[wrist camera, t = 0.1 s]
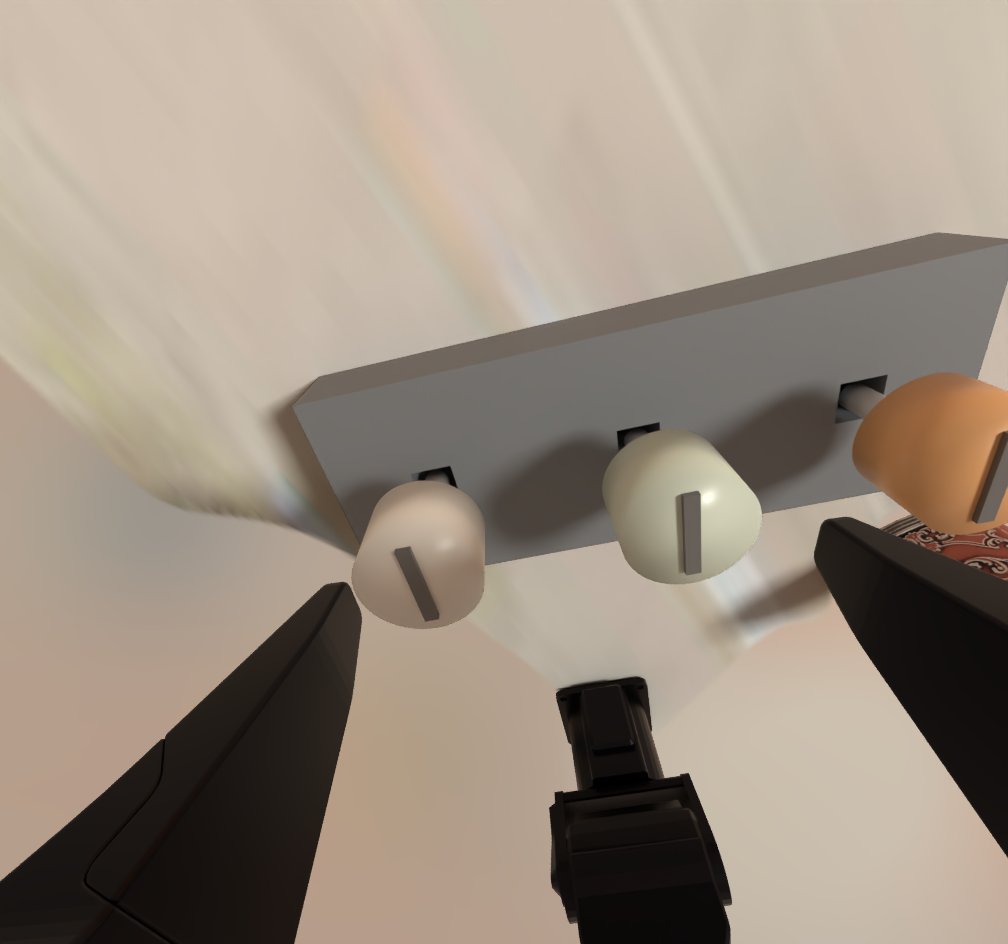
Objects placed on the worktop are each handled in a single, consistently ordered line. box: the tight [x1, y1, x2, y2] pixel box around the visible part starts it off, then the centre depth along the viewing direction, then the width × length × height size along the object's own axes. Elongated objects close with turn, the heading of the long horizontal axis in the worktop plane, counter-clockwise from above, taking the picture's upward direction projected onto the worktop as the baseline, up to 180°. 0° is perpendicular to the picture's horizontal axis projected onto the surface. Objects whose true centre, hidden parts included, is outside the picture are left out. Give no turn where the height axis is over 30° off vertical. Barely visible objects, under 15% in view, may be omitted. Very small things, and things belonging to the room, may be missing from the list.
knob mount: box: [292, 233, 1008, 565], centre depth 22 cm, size 10×27×4 cm, turn 103°
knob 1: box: [352, 470, 485, 629], centre depth 18 cm, size 4×4×7 cm
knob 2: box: [839, 372, 1008, 535], centre depth 17 cm, size 4×4×7 cm
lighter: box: [880, 514, 1008, 581], centre depth 23 cm, size 8×3×10 cm, turn 125°
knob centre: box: [602, 428, 762, 584], centre depth 18 cm, size 4×4×7 cm
